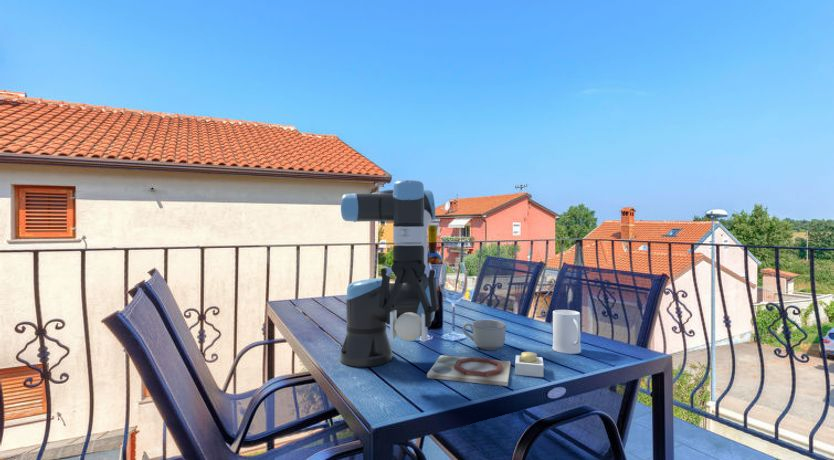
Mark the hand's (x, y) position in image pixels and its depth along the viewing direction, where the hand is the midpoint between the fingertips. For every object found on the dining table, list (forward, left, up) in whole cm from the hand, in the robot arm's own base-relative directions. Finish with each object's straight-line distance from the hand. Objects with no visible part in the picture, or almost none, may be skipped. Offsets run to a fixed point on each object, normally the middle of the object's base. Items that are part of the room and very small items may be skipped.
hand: (408, 338), depth 93 cm
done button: (+28, +18, -8) cm, 34 cm away
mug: (+40, +40, -11) cm, 57 cm away
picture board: (+13, +14, -11) cm, 22 cm away
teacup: (+14, +38, -11) cm, 42 cm away
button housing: (+28, +18, -11) cm, 35 cm away
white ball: (0, 0, -1) cm, 1 cm away
